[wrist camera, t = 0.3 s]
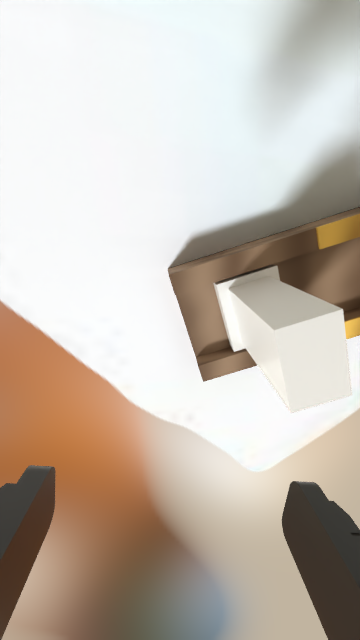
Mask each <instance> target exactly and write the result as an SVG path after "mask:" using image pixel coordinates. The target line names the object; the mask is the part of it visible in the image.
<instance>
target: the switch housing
mask: <svg viewBox="0 0 360 640" xmlns="http://www.w3.org/2000/svg"><path fill="white" fill-rule="evenodd" d="M271 264H274V265H277V266H278V272H279V277H280V281H281V282H283V283H286V284H288V285H290V286H292V287H295V288H297V289H299V290H301V291H304V292H306V293H308V294H310V295H313V296H315V297H317V298H319V299H321V300H324V301H326V302H328V303H330V304H333V305H335V306H337V307H339V308H342V309H343V314H344V323H345V333H346V339H349V338H352V337H356V336H359V335H360V207H358V208H355V209H352V210H348V211H345V212H342V213H339V214H336V215H333V216H330V217H327V218H324V219H321V220H317V221H314V222H311V223H308V224H305V225H302V226H299V227H296V228H293V229H290V230H286V231H283V232H280V233H277V234H274V235H271V236H268V237H265V238H262V239H259V240H255V241H252V242H249V243H246V244H243V245H240V246H237V247H234V248H231V249H228V250H224V251H221V252H218V253H215V254H212V255H209V256H206V257H203V258H200V259H197V260H193V261H190V262H187V263H184V264H181V265H178V266H175V267H172V268H169V269H168V273H169V277H170V280H171V283H172V286H173V289H174V293H175V295H176V297H177V300H178V303H179V306H180V309H181V313H182V316H183V319H184V322H185V325H186V328H187V331H188V334H189V337H190V340H191V343H192V347H193V350H194V353H195V356H196V359H197V363H198V367H199V370H200V373H201V376H202V379H203V382H204V381H207V380H211V379H214V378H217V377H221V376H224V375H227V374H230V373H234V372H237V371H240V370H243V369H247V368H250V367H253V366H257V364H256V363H255V361H254V360H253V358H252V357H251V355H250V354H249V353H248V351H247V350H246V348H245V349H242V350H238V351H235V352H234V351H233V349H232V347H231V346H230V343H229V339H228V336H227V332H226V328H225V324H224V321H223V317H222V313H221V310H220V306H219V302H218V299H217V295H216V291H215V287H214V284H213V283H215V282H218V281H221V280H224V279H227V278H230V277H234V276H237V275H240V274H243V273H246V272H249V271H252V270H256V269H259V268H262V267H265V266H268V265H271Z"/></svg>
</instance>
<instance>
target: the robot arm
mask: <svg viewBox="0 0 360 640" xmlns="http://www.w3.org/2000/svg"><path fill="white" fill-rule="evenodd" d="M54 507H55V468H54V467H49V466H32V465H31V466H29V467H28V468H27V469H26V470H25V472H24V473H23V475H22V476H21V478H20V479H19V481H18V482H17V484H10V483H6V484H5V485H4V486H2V487H1V488H0V640H1V639H2V636H3V634H4V632H5V629H6V627H7V625H8V622H9V620H10V618H11V616H12V613H13V611H14V609H15V606H16V604H17V602H18V599H19V597H20V595H21V592H22V590H23V587H24V585H25V583H26V581H27V578H28V576H29V573H30V571H31V569H32V567H33V564H34V562H35V560H36V557H37V555H38V553H39V550H40V548H41V546H42V543H43V541H44V539H45V536H46V534H47V532H48V529H49V527H50V524H51V520H52V517H53V513H54ZM282 527H283V533H284V536H285V539H286V541H287V544H288V546H289V548H290V551H291V553H292V556H293V558H294V560H295V563H296V565H297V567H298V570H299V572H300V574H301V577H302V579H303V581H304V584H305V586H306V588H307V591H308V593H309V595H310V598H311V600H312V602H313V605H314V607H315V610H316V612H317V614H318V617H319V619H320V621H321V624H322V626H323V628H324V631H325V633H326V635H327V637H328V640H360V530H359V528H358V527H357V525H356V524H355V523H354V521H353V520H352V518H351V517H350V516H349V515H348V514H347V513H346V512H345V511H344V510H343V509H342V508H340V507H339V506H338V505H337V504H336V503H335V502H334V501H329V500H328V499H327V497H326V496H325V494H324V493H323V491H322V490H321V488H320V487H319V486H318V485H317V484H316V483H314V482H298V481H293V482H292V483H291V484H290V487H289V491H288V495H287V499H286V503H285V507H284V511H283V516H282Z"/></svg>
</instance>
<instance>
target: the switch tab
mask: <svg viewBox="0 0 360 640" xmlns="http://www.w3.org/2000/svg"><path fill="white" fill-rule="evenodd" d="M213 284H214V287H215V291H216V295H217V299H218V302H219V306H220V310H221V313H222V317H223V321H224V324H225V328H226V332H227V336H228V339H229V343H230V346H231V347H232V349H233V351H234V352H235V351H238V350H242V349H245V348H246V350H247V351H248V353H249V354H250V355H251V357H252V358H253V360H254V361H255V363H256V364H257V365H258V367H259V368H260V370H261V371H262V373H263V374H264V375H265V377H266V378H267V380H268V381H269V383H270V384H271V385H272V387H273V388H274V390H275V391H276V393H277V394H278V395H279V397H280V398H281V400H282V401H283V403H284V404H285V406H286V407H287V408H288V410H289V411H290V413H294V412H297V411H301V410H304V409H307V408H311V407H314V406H317V405H321V404H324V403H328V402H331V401H334V400H338V399H341V398H344V397H348V396H351V395H352V390H351V380H350V371H349V361H348V352H347V342H346V333H345V323H344V314H343V309H342V308H339V307H337V306H335V305H333V304H330V303H328V302H326V301H324V300H321V299H319V298H317V297H315V296H313V295H310V294H308V293H306V292H304V291H301V290H299V289H297V288H295V287H292V286H290V285H288V284H286V283H283V282H281V281H280V277H279V272H278V266H277V265H274V264H271V265H268V266H265V267H262V268H259V269H256V270H252V271H249V272H246V273H243V274H240V275H237V276H234V277H230V278H227V279H224V280H221V281H218V282H215V283H213Z"/></svg>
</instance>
